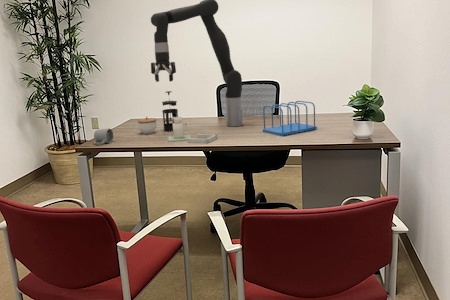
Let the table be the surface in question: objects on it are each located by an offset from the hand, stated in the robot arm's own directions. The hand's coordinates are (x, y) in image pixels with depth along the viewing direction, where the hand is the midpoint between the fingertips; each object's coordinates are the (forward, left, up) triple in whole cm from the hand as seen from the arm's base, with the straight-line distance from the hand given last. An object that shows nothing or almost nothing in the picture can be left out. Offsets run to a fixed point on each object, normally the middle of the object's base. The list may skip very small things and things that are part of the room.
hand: (164, 81), depth 247 cm
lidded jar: (+12, -11, -30) cm, 34 cm away
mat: (-6, +12, -30) cm, 33 cm away
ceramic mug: (+35, +10, -30) cm, 47 cm away
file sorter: (-67, +11, -30) cm, 75 cm away
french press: (-2, -16, -30) cm, 34 cm away
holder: (-18, +21, -30) cm, 41 cm away
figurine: (-6, +12, -30) cm, 32 cm away
